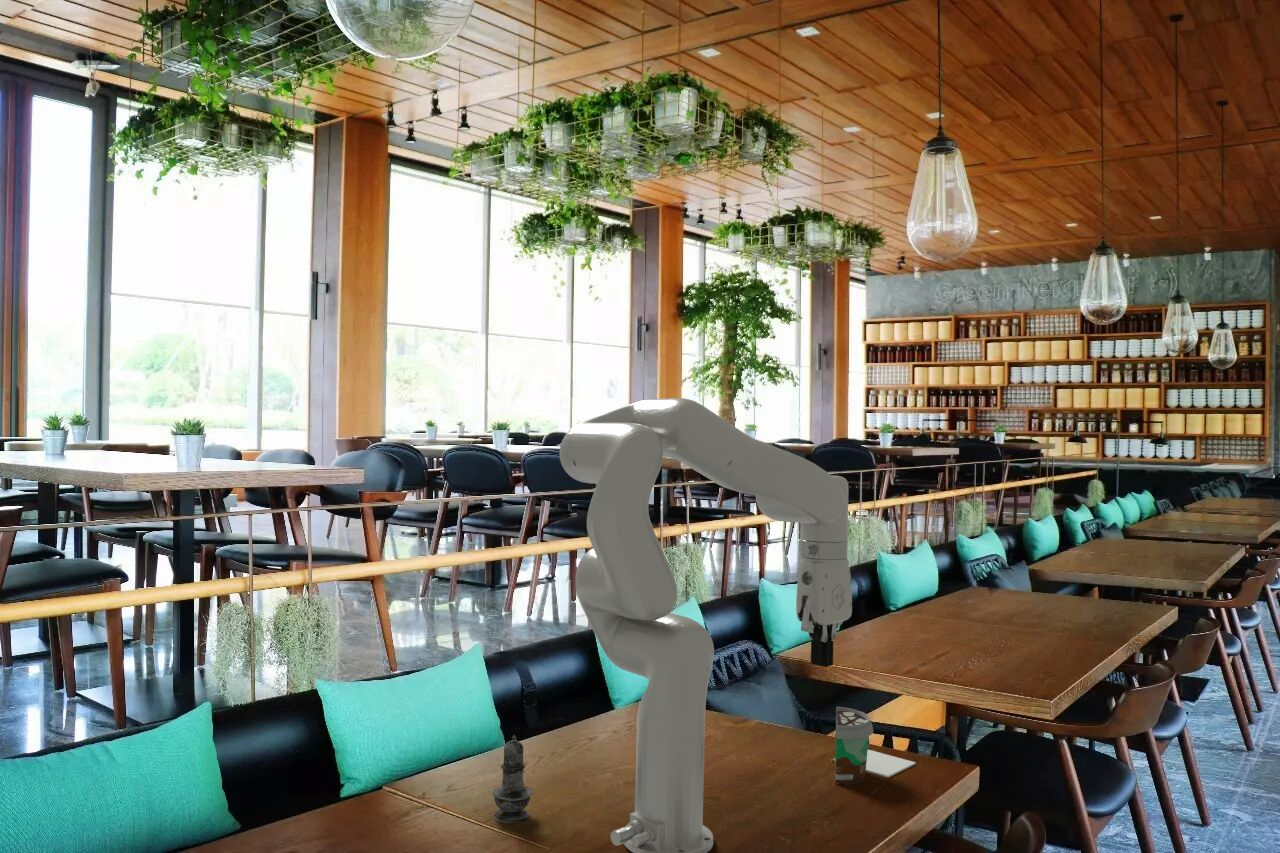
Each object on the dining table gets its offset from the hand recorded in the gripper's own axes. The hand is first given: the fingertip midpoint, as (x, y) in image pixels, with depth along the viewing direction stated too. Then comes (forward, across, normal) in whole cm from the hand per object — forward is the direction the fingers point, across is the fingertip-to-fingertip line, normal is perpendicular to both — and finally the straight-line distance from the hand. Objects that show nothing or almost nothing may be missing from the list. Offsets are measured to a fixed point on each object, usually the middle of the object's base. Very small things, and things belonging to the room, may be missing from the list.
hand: (821, 664), depth 152 cm
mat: (+21, +19, +1) cm, 28 cm away
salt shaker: (+20, -42, +26) cm, 54 cm away
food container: (+21, +11, 0) cm, 23 cm away
